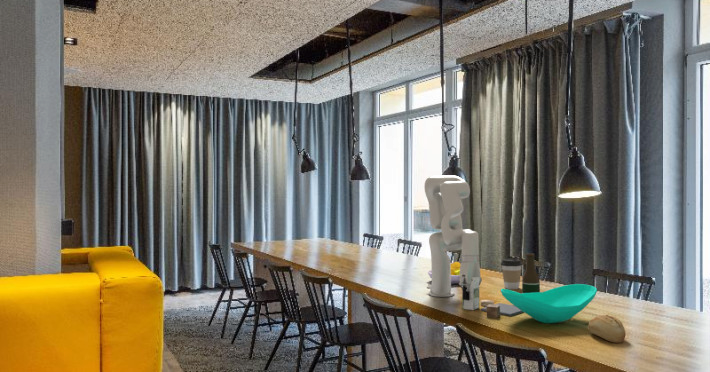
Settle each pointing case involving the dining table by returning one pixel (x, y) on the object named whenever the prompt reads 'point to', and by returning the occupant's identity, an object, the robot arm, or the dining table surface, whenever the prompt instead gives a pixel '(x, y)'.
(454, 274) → the fruit bowl
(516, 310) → the felt pad
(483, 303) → the cork disc
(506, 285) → the coffee cup
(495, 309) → the walnut cube
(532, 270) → the beer bottle
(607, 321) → the bread roll
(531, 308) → the table top decor
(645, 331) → the dining table surface
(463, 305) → the syrup box
